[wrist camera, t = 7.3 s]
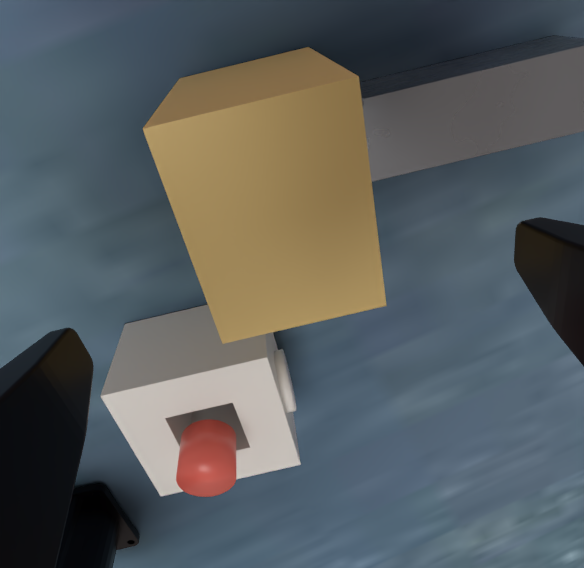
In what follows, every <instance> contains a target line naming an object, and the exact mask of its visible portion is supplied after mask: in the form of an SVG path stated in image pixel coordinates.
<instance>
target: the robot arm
mask: <svg viewBox="0 0 584 568" xmlns="http://www.w3.org/2000/svg"><path fill="white" fill-rule="evenodd" d="M514 263H515V267H516V269H517V271H518V273H519V275H520V276H521V278H522V279H523V281H524V283H525V284H526V286H527V287H528V289H529V291H530V292H531V294H532V295H533V297H534V299H535V300H536V302H537V304H538V305H539V307H540V308H541V310H542V312H543V313H544V315H545V316H546V318H547V319H548V321H549V322H550V324H551V325H552V327H553V328H554V330H555V331H556V332H557V334H558V335H559V336H560V337H561V339H562V340H563V341H564V342H565V344H566V345H567V346H568V347H569V349H570V350H571V351H572V352H573V354H574V355H575V356H576V357H577V359H578V360H579V361H580V362H581V364H582V365H583V366H584V225H579V224H574V223H569V222H563V221H558V220H552V219H547V218H541V217H539V218H534V219H530V220H525V221H522V222H520V223H519V224H518V225H517V227H516V233H515V251H514ZM92 378H93V361H92V358H91V356H90V355H89V353H88V351H87V349H86V348H85V346H84V344H83V343H82V341H81V339H80V337H79V336H78V334H77V333H76V331H75V330H74V329H71V328H64V329H60V330H55V331H52V332H49V333H48V334H46V335H45V336H44V337H42V338H41V339H40V340H38V341H37V342H36V343H34V344H33V345H32V346H30V347H29V348H28V349H26V350H25V351H24V352H22V353H21V354H19V355H18V356H17V357H15V358H14V359H13V360H11V361H10V362H9V363H7V364H6V365H5V366H3V367H2V368H1V369H0V568H113V563H114V558H115V554H116V550H119V549H123V548H127V547H132V546H135V545H137V544H138V543H139V538H140V536H139V534H138V532H137V531H136V529H135V528H134V527H133V525H132V524H131V522H130V521H129V519H128V518H127V517H126V515H125V514H124V512H123V511H122V509H121V508H120V506H119V505H118V504H117V502H116V501H115V499H114V498H113V496H112V495H111V494H110V492H109V491H108V489H107V488H106V487H105V486H104V485H102V484H93V485H89V486H85V487H80V488H76V489H74V485H75V480H76V476H77V472H78V468H79V463H80V459H81V455H82V450H83V446H84V441H85V436H86V430H87V423H88V414H89V405H90V396H91V387H92Z"/></svg>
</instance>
